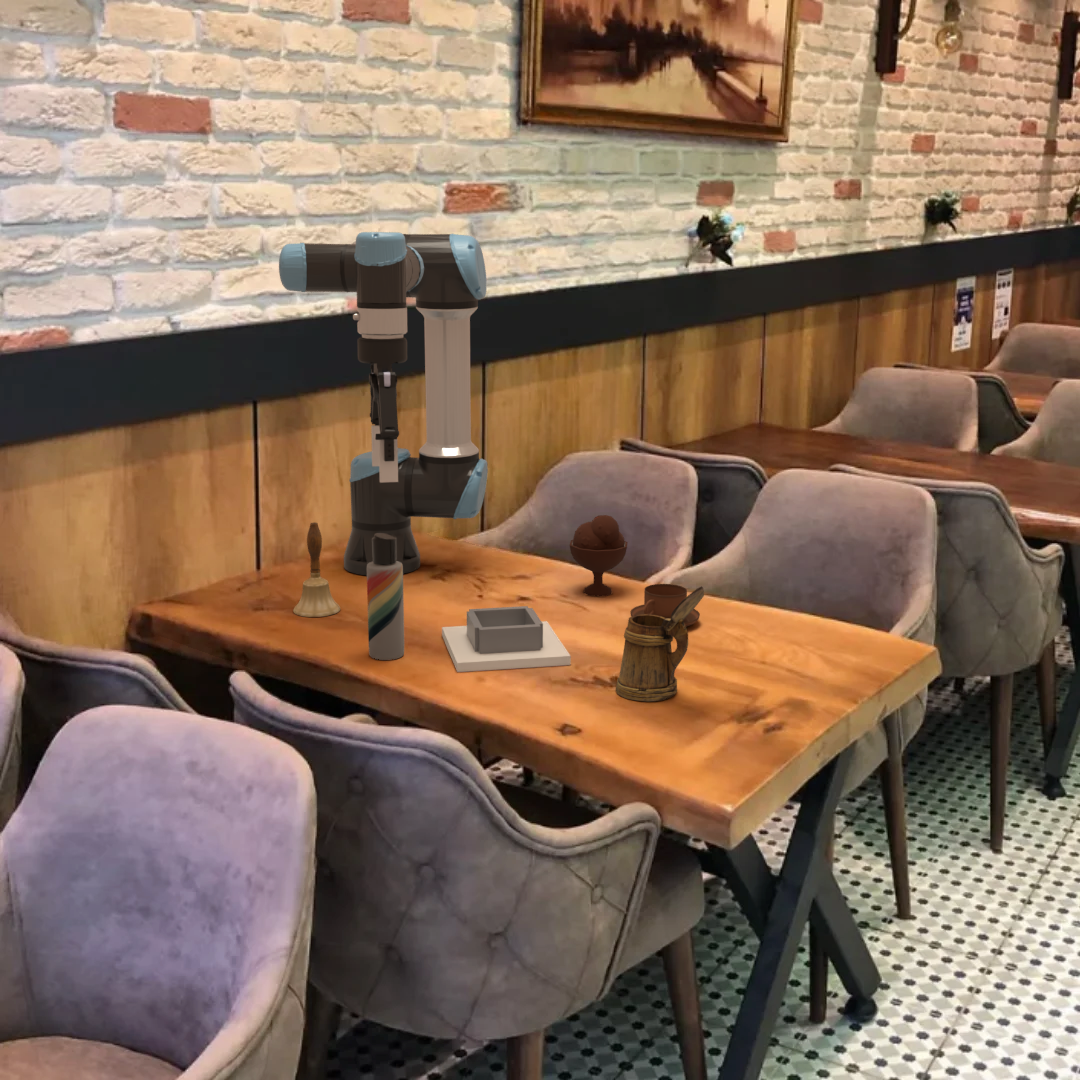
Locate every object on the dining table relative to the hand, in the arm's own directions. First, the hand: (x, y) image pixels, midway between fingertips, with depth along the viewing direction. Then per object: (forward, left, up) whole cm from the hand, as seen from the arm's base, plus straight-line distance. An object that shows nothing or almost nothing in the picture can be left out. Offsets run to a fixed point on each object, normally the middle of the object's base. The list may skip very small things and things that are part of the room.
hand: (384, 473), depth 205 cm
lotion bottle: (+1, 0, -30) cm, 30 cm away
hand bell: (-25, -10, -30) cm, 40 cm away
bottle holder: (+2, +19, -30) cm, 35 cm away
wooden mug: (+26, +38, -30) cm, 54 cm away
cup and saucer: (-7, +49, -30) cm, 58 cm away
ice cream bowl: (-27, +42, -30) cm, 58 cm away
